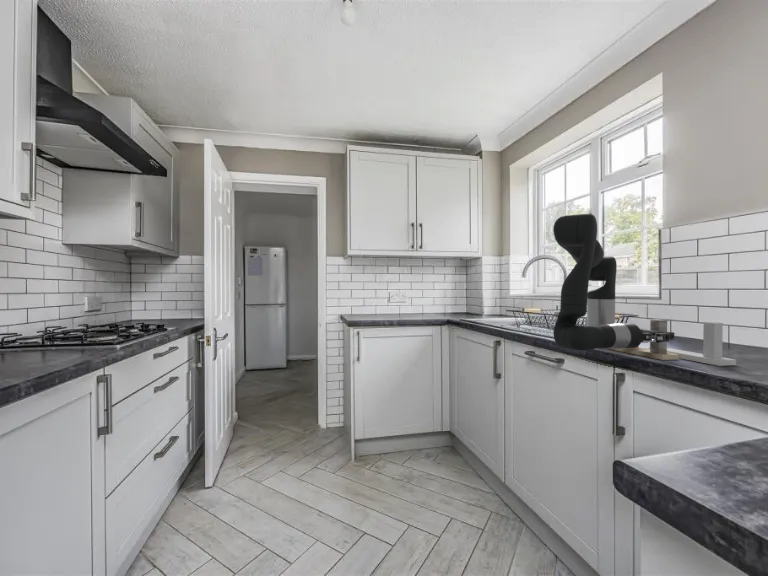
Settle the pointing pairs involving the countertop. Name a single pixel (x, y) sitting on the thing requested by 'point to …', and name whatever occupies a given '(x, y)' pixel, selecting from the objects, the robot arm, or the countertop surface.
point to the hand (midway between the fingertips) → (665, 334)
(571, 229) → the robot arm
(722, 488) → the countertop surface
